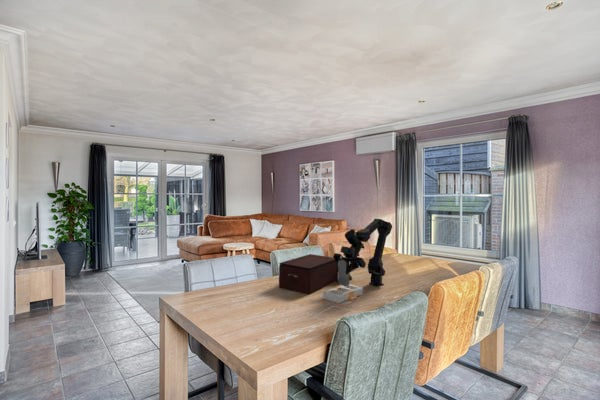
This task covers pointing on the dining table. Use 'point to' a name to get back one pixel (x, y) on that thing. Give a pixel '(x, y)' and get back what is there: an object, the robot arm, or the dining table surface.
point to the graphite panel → (343, 272)
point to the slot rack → (342, 293)
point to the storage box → (308, 273)
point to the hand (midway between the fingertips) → (342, 272)
